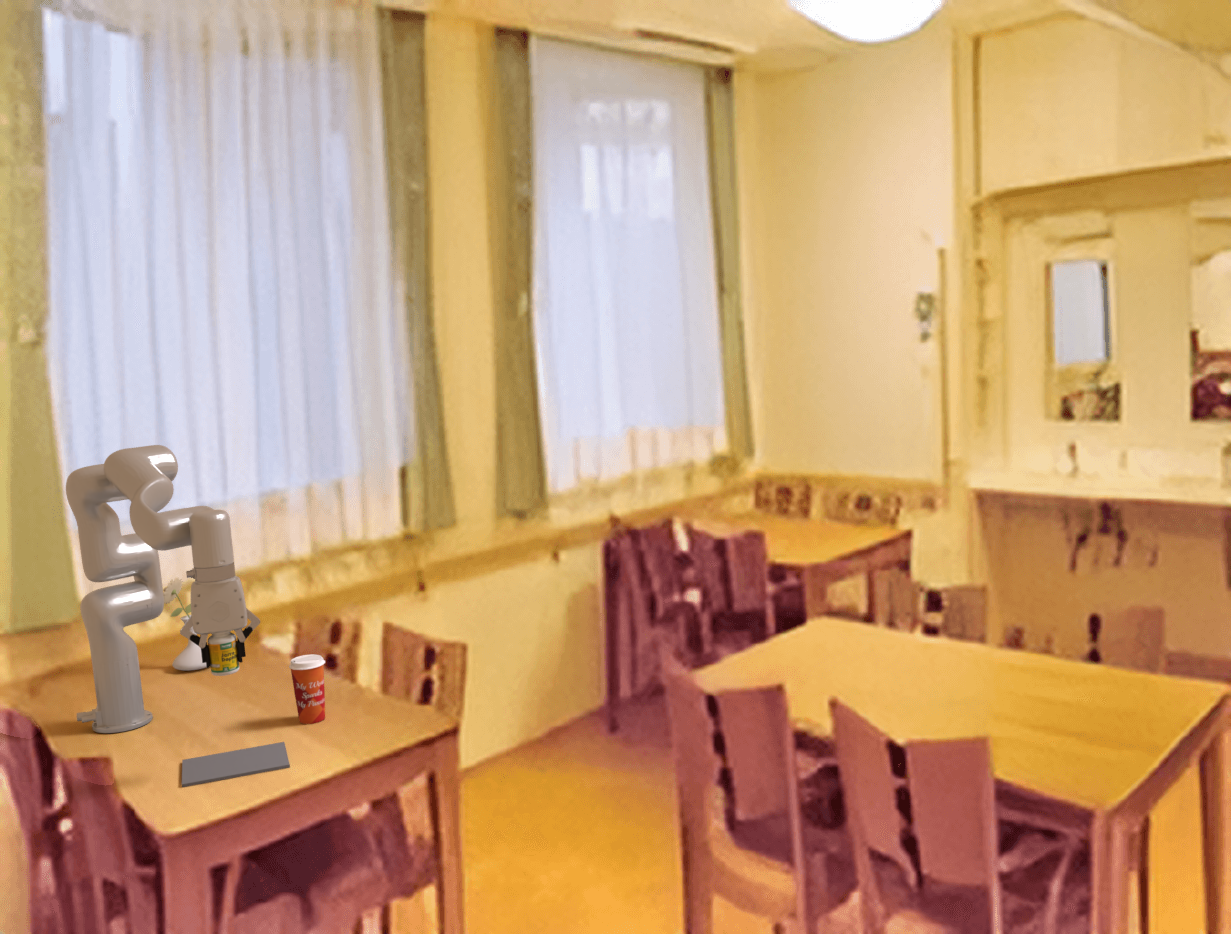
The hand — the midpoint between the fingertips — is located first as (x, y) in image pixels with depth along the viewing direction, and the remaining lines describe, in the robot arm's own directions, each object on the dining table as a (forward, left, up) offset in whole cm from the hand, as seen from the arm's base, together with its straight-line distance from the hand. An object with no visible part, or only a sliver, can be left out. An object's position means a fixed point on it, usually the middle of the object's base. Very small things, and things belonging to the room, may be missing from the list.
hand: (224, 662), depth 221 cm
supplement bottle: (0, 0, -2) cm, 2 cm away
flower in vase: (-8, +80, -22) cm, 83 cm away
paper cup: (+17, +21, -22) cm, 35 cm away
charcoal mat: (0, +1, -21) cm, 21 cm away
